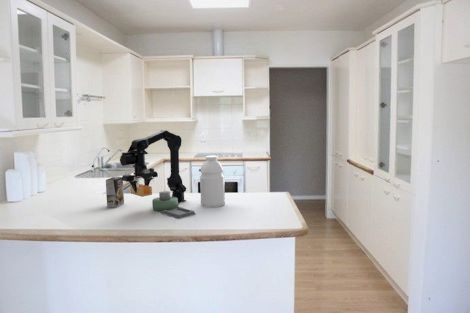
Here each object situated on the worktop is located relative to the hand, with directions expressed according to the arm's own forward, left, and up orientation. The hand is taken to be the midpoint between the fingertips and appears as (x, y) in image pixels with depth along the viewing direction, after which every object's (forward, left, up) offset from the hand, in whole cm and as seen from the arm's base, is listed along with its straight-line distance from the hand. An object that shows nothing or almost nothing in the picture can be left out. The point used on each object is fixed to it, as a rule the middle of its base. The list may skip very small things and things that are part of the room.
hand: (141, 191), depth 209 cm
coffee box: (+4, -23, -11) cm, 26 cm away
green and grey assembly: (-12, +12, -11) cm, 20 cm away
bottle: (-35, +18, -11) cm, 41 cm away
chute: (0, 0, -1) cm, 1 cm away
